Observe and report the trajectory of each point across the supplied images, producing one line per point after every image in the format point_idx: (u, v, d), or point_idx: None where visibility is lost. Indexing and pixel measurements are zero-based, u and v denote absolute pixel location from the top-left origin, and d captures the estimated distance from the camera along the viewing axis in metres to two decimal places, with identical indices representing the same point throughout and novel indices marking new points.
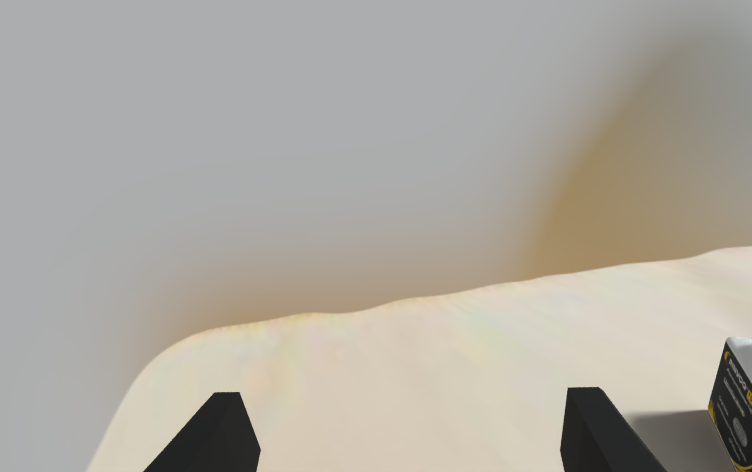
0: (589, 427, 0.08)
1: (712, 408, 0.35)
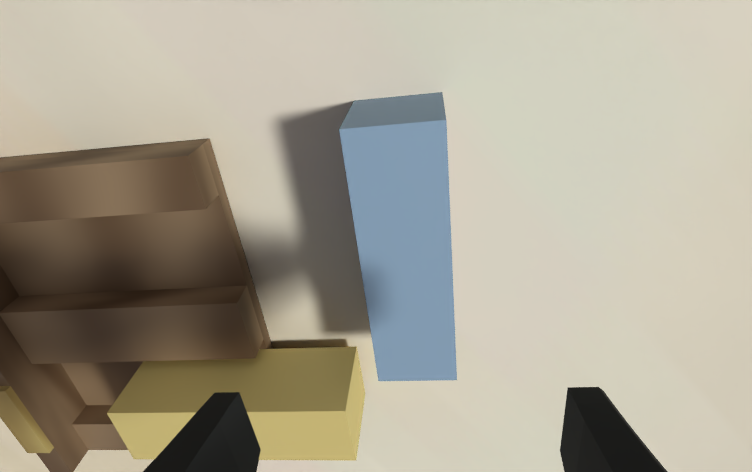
0: (589, 427, 0.08)
1: None
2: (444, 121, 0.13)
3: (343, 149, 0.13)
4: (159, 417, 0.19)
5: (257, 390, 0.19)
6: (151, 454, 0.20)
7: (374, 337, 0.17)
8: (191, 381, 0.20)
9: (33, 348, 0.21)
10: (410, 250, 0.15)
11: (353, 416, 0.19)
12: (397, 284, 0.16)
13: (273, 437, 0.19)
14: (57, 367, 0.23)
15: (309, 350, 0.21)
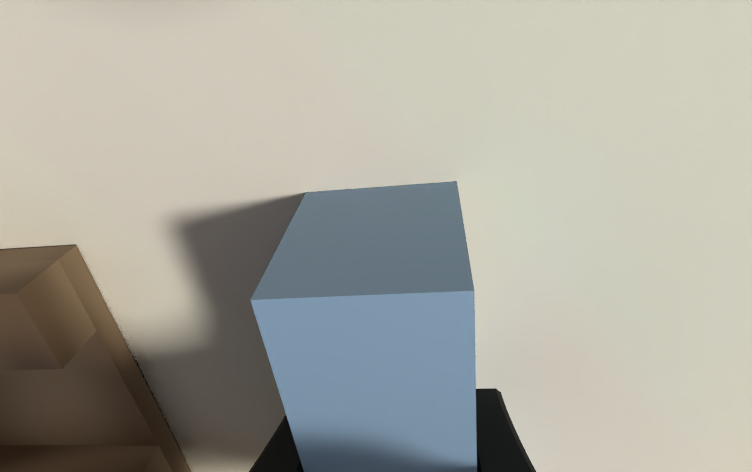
0: None
1: None
2: (470, 294, 0.06)
3: (263, 332, 0.07)
4: None
5: None
6: None
7: None
8: None
9: None
10: None
11: None
12: None
13: None
14: None
15: None
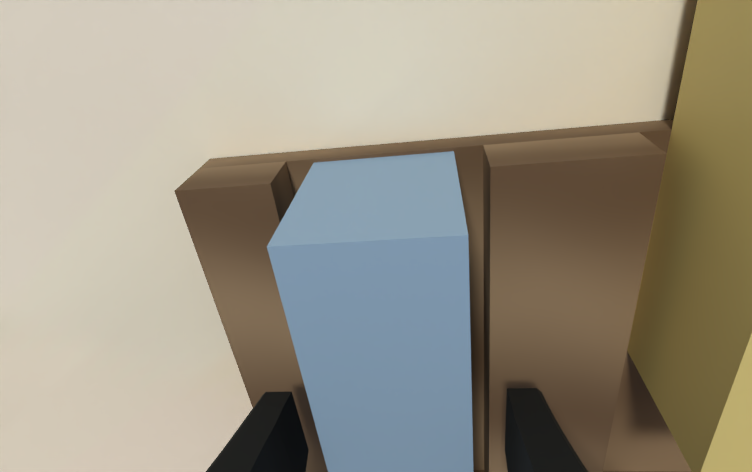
0: (519, 427, 0.08)
1: None
2: (465, 238, 0.07)
3: (278, 278, 0.07)
4: (745, 399, 0.08)
5: None
6: None
7: None
8: (689, 305, 0.09)
9: None
10: (403, 427, 0.09)
11: None
12: (382, 469, 0.10)
13: None
14: None
15: (700, 13, 0.08)
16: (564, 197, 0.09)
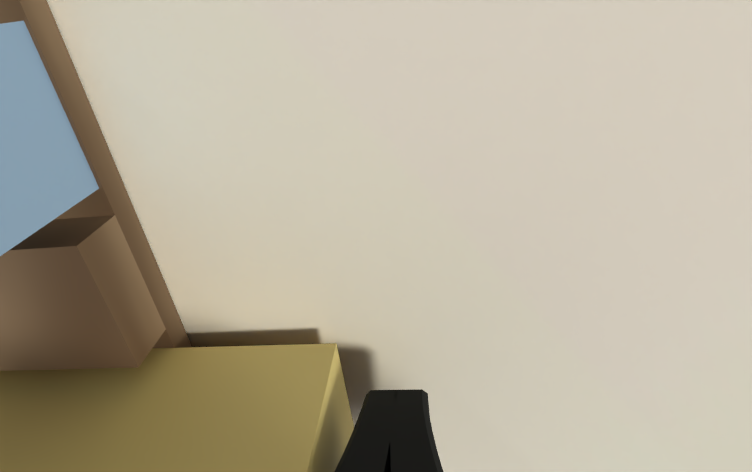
0: (390, 428, 0.09)
1: None
2: None
3: None
4: None
5: (120, 436, 0.09)
6: None
7: None
8: None
9: None
10: None
11: None
12: None
13: None
14: None
15: (244, 350, 0.11)
16: (73, 307, 0.09)
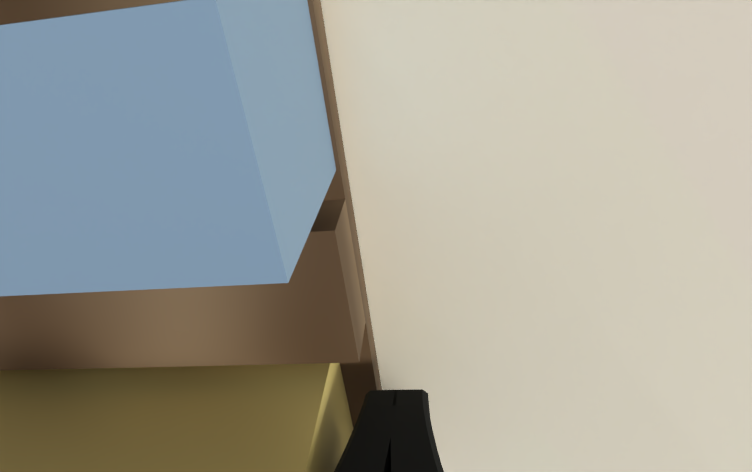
0: (391, 428, 0.09)
1: None
2: (283, 280, 0.05)
3: (151, 9, 0.04)
4: None
5: (120, 434, 0.09)
6: None
7: None
8: None
9: None
10: None
11: None
12: None
13: None
14: None
15: None
16: (308, 297, 0.08)
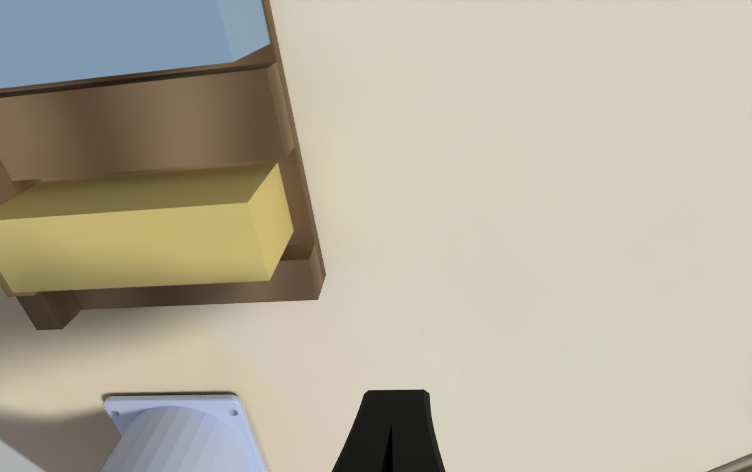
0: (392, 428, 0.09)
1: None
2: (231, 60, 0.12)
3: None
4: (31, 225, 0.16)
5: (150, 196, 0.16)
6: (31, 283, 0.17)
7: None
8: (77, 196, 0.17)
9: (13, 156, 0.17)
10: (72, 27, 0.12)
11: (266, 228, 0.16)
12: (19, 11, 0.12)
13: (168, 250, 0.16)
14: None
15: (222, 168, 0.18)
16: (255, 113, 0.15)
